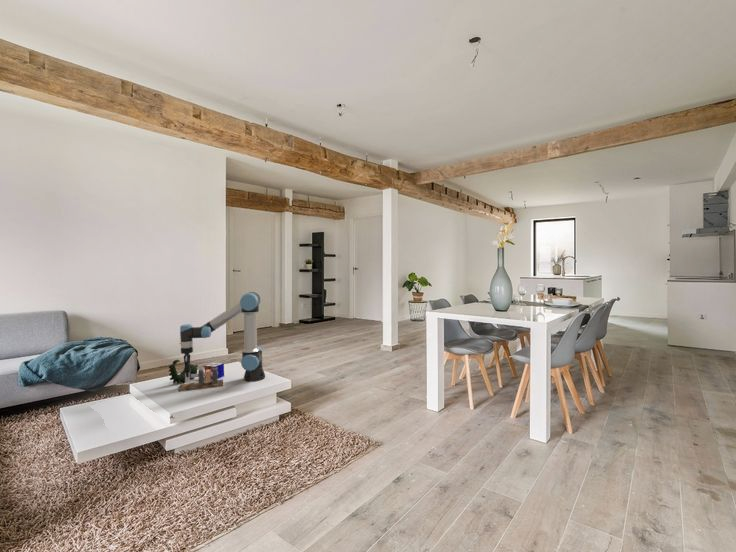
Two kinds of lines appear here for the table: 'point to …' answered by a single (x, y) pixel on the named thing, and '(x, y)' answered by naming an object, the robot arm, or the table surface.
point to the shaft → (197, 374)
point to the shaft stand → (202, 382)
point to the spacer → (208, 375)
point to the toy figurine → (180, 377)
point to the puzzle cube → (219, 368)
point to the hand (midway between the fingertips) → (187, 380)
